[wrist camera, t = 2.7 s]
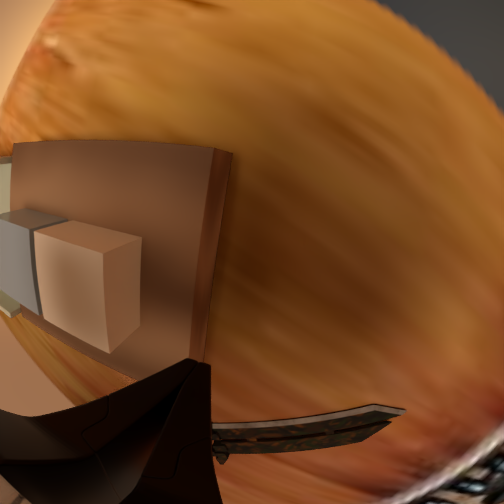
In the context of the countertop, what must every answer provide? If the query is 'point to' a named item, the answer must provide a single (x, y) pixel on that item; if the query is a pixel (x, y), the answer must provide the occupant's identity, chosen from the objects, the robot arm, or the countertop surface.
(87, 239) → the cream block
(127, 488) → the robot arm
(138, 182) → the board
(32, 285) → the grey block
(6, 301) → the tray
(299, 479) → the countertop surface
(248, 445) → the knife
